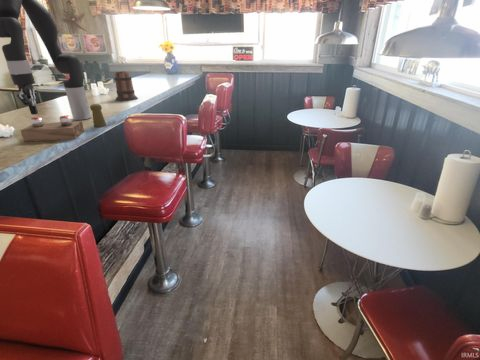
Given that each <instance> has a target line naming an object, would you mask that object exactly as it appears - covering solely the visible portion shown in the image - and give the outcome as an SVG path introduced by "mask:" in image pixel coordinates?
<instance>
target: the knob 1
mask: <svg viewBox="0 0 480 360" xmlns="http://www.w3.org/2000/svg"><path fill="white" fill-rule="evenodd" d="M29 121H30V123H31V124H30V125H32V127H40V126H43V125H44V124H43V123H44V121H43V118H42V117H41V116H34V117H30V119H29Z"/></svg>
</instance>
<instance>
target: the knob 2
mask: <svg viewBox="0 0 480 360" xmlns="http://www.w3.org/2000/svg"><path fill="white" fill-rule="evenodd" d="M58 118H59V122H61V125H65V126H66V125H70V124H72V122H73V121H72V118H71V116H70V115H61V116H59V117H58Z"/></svg>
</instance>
